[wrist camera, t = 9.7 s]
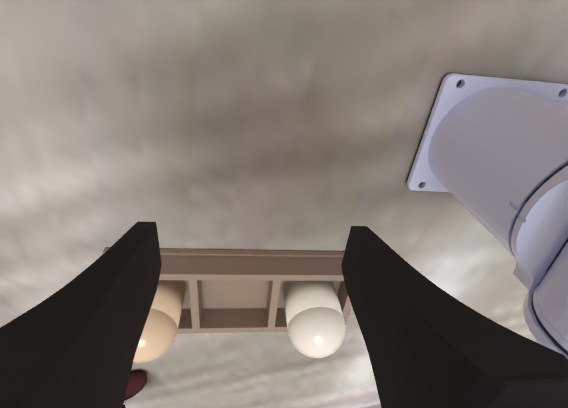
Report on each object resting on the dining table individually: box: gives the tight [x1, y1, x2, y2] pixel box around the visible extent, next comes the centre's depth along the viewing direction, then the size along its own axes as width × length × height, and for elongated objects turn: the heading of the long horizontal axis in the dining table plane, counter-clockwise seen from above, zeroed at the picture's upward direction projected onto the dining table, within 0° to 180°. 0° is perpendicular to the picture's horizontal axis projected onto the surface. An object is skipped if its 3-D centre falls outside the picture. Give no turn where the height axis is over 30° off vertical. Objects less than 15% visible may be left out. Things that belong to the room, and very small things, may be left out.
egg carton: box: [103, 248, 352, 333], centre depth 27 cm, size 20×7×2 cm, turn 84°
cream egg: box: [283, 281, 345, 358], centre depth 26 cm, size 4×4×6 cm
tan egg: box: [133, 280, 186, 363], centre depth 24 cm, size 4×4×6 cm
